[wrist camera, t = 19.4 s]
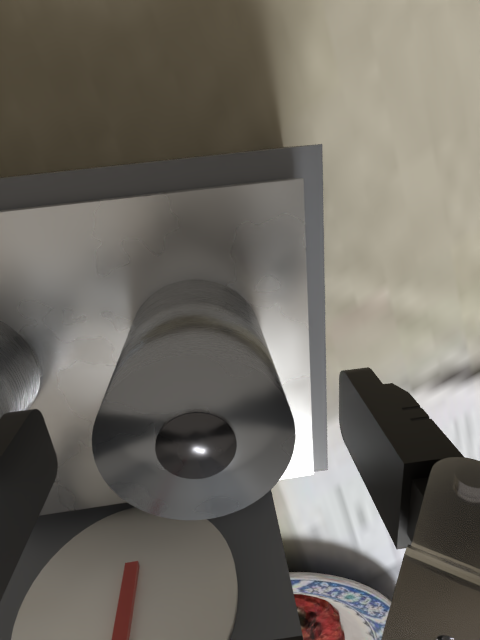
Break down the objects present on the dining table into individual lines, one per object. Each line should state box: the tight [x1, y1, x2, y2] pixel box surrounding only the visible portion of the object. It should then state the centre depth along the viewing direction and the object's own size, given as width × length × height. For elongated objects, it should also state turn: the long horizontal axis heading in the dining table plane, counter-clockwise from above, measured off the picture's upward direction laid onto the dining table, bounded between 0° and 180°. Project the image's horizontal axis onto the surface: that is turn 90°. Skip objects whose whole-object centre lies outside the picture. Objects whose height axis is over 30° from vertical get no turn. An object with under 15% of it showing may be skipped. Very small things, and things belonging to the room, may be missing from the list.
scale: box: [0, 144, 328, 640], centre depth 16 cm, size 18×18×16 cm
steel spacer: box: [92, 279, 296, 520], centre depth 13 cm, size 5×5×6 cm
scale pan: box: [0, 177, 314, 516], centre depth 16 cm, size 16×13×1 cm
